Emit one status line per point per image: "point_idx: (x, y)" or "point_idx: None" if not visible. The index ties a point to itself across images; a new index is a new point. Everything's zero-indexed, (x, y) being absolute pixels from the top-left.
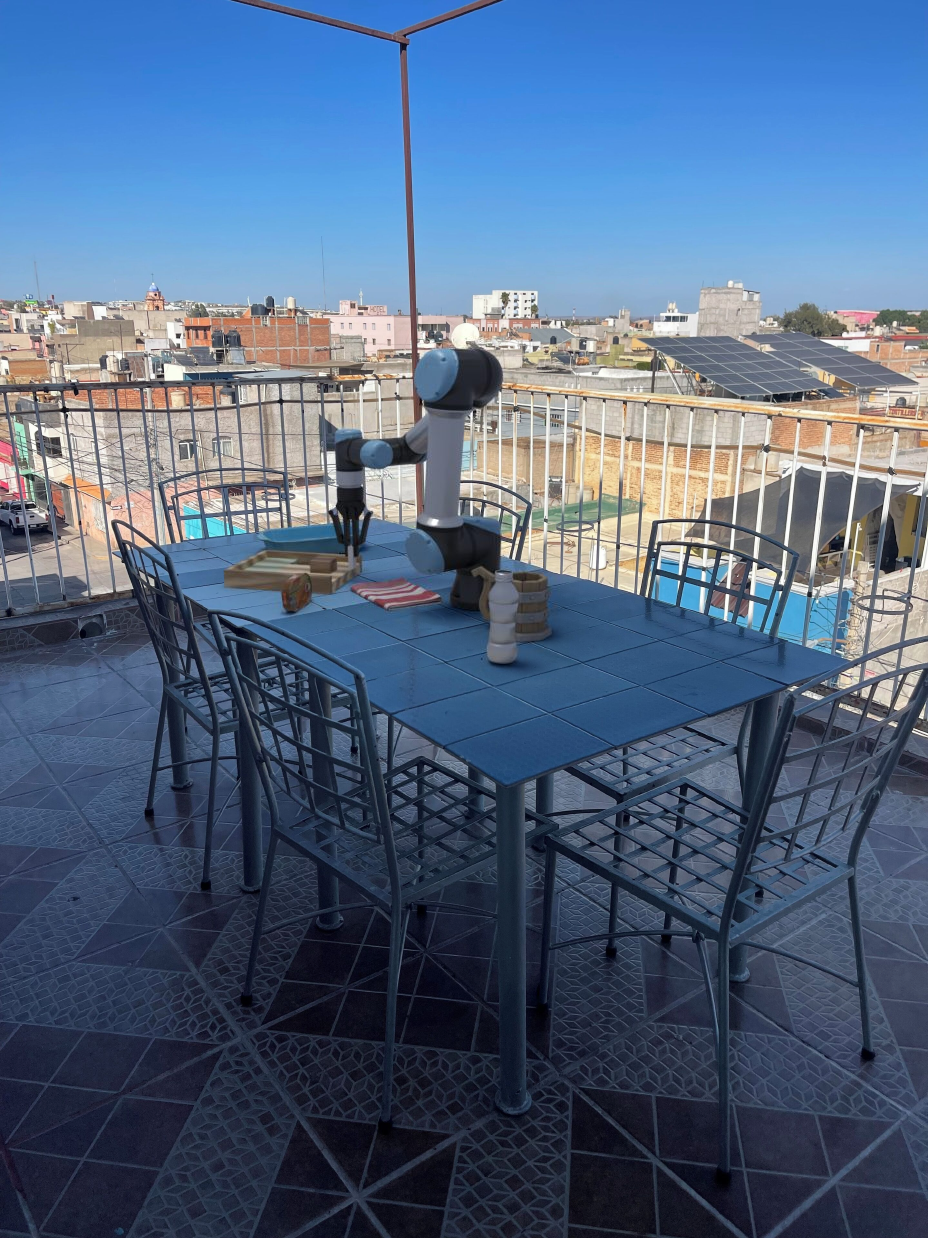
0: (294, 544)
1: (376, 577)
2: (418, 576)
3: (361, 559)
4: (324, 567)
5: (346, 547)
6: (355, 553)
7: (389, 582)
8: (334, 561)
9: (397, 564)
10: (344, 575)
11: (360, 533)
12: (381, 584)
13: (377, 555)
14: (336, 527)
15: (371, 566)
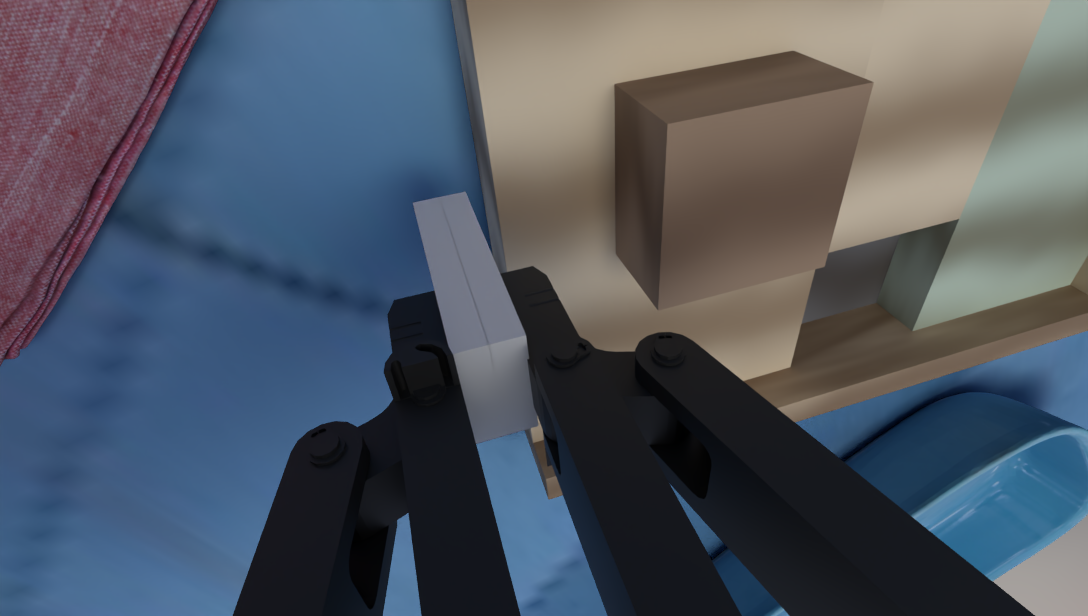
0: (960, 462)
1: (356, 365)
2: (106, 505)
3: (540, 473)
4: (692, 92)
5: (552, 336)
6: (418, 323)
7: (16, 222)
8: (649, 245)
9: (415, 577)
10: (485, 139)
11: (324, 600)
12: (42, 139)
13: (579, 603)
14: (859, 525)
15: (520, 499)
